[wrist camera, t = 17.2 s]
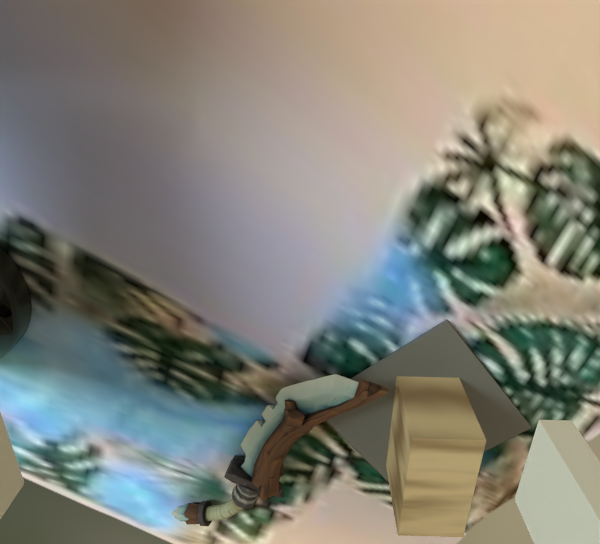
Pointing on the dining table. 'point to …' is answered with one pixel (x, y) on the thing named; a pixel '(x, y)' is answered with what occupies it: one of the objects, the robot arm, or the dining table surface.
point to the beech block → (433, 456)
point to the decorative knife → (280, 441)
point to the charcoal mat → (428, 363)
